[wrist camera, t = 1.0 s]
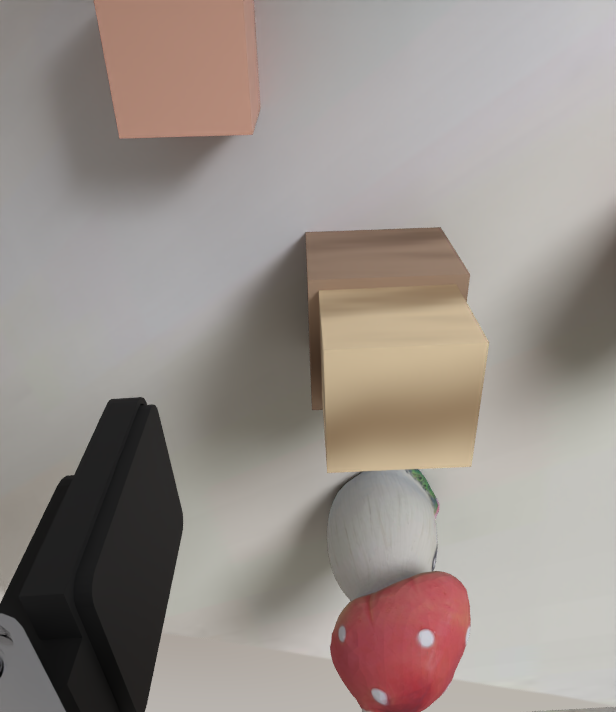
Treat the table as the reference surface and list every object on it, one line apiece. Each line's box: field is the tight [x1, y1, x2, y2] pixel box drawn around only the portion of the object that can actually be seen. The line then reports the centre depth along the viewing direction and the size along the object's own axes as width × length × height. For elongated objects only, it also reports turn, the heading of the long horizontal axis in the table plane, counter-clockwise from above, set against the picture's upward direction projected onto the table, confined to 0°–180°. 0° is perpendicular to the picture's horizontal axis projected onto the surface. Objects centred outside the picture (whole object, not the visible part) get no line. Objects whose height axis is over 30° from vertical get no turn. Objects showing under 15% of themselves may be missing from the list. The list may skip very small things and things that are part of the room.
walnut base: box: [306, 227, 470, 410], centre depth 29 cm, size 7×7×6 cm
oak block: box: [319, 284, 489, 473], centre depth 25 cm, size 6×6×5 cm
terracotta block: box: [94, 0, 260, 139], centre depth 23 cm, size 5×5×6 cm
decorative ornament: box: [327, 469, 471, 712], centre depth 34 cm, size 9×7×15 cm
